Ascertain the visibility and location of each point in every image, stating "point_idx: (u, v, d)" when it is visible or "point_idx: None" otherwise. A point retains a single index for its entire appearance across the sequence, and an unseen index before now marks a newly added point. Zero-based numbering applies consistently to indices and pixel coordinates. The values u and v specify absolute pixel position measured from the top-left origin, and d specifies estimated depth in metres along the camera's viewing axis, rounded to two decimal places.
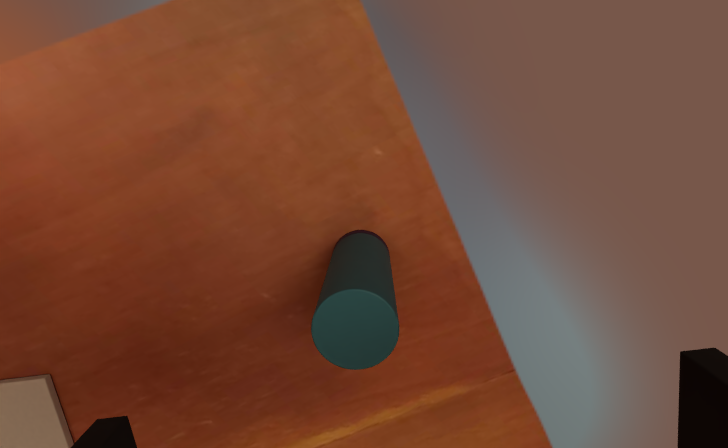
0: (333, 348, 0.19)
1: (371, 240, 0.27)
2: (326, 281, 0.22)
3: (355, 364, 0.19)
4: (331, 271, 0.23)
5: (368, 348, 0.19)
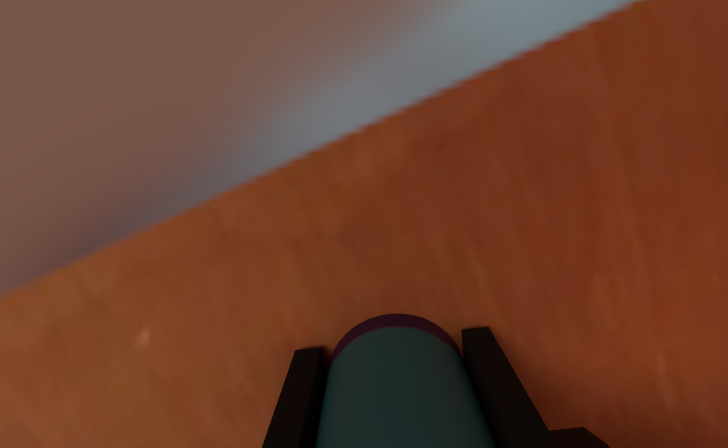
0: None
1: (323, 403, 0.10)
2: None
3: None
4: None
5: None
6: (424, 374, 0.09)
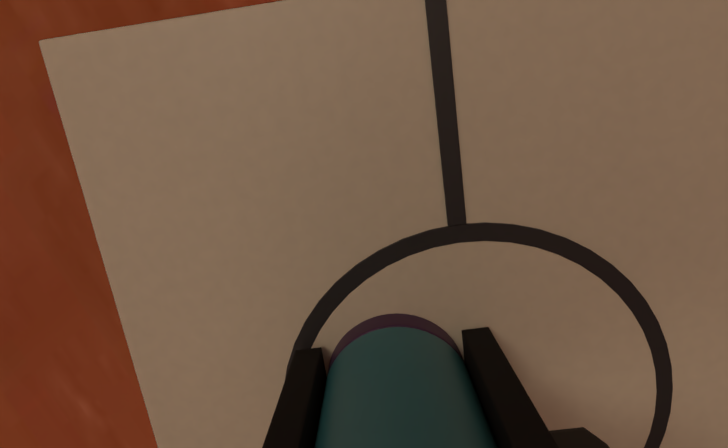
0: None
1: (323, 403, 0.10)
2: None
3: None
4: None
5: None
6: (425, 374, 0.09)
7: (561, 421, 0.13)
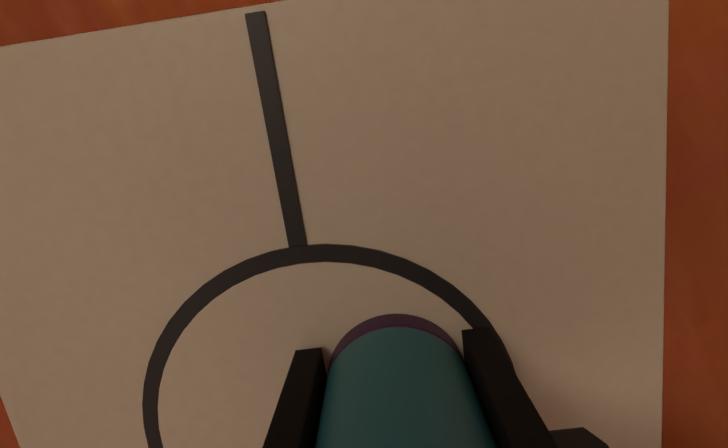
0: None
1: (324, 403, 0.10)
2: None
3: None
4: None
5: None
6: (425, 374, 0.09)
7: None
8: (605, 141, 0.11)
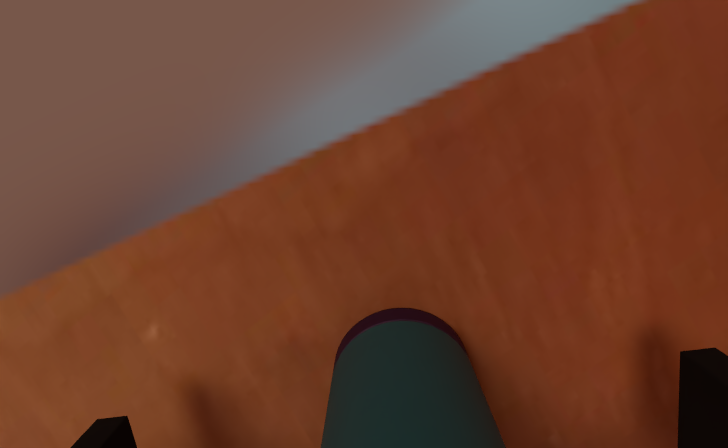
0: None
1: (331, 394, 0.10)
2: None
3: None
4: None
5: None
6: (430, 365, 0.09)
7: None
8: None
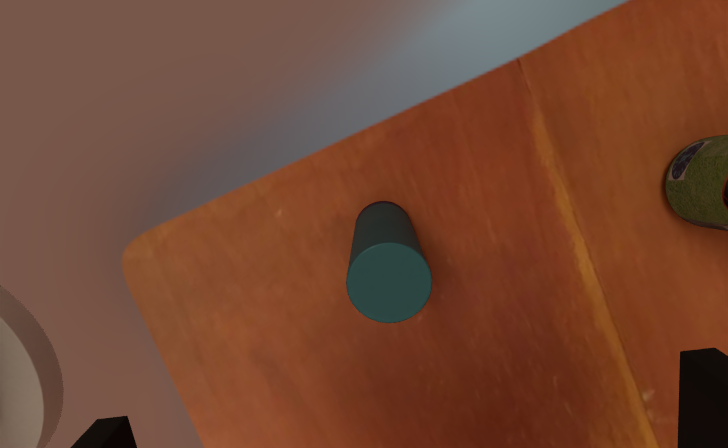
0: (407, 304, 0.20)
1: (356, 225, 0.28)
2: None
3: (425, 284, 0.19)
4: None
5: (408, 271, 0.19)
6: (391, 209, 0.27)
7: None
8: None
